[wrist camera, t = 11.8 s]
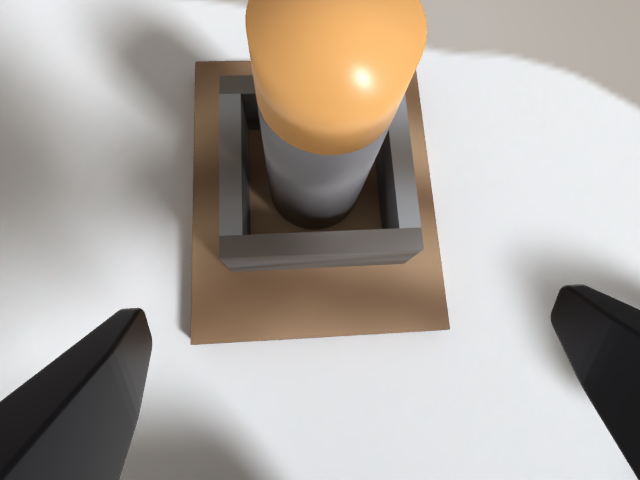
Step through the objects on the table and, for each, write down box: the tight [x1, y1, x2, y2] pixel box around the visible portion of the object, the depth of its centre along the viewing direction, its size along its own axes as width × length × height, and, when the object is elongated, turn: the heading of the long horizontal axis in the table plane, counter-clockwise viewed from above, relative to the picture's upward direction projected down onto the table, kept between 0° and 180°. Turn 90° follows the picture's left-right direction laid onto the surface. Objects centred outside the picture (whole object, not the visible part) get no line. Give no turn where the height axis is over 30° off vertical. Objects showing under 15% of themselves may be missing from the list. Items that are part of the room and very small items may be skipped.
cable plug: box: [246, 0, 427, 230], centre depth 17 cm, size 5×5×12 cm
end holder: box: [191, 61, 450, 345], centre depth 21 cm, size 16×13×5 cm
